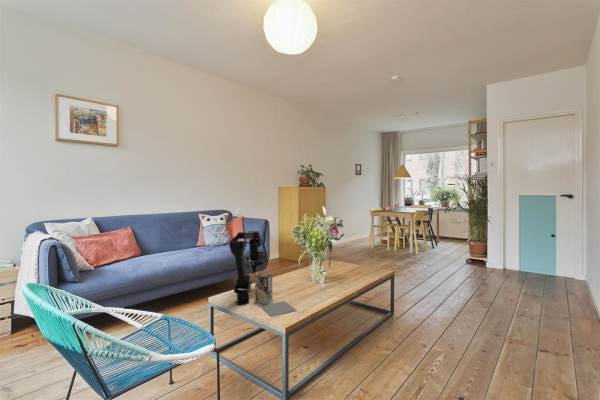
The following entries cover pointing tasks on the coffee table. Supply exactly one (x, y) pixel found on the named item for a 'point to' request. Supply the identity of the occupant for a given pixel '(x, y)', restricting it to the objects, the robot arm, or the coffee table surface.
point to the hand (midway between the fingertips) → (253, 273)
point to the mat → (278, 308)
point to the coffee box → (263, 288)
